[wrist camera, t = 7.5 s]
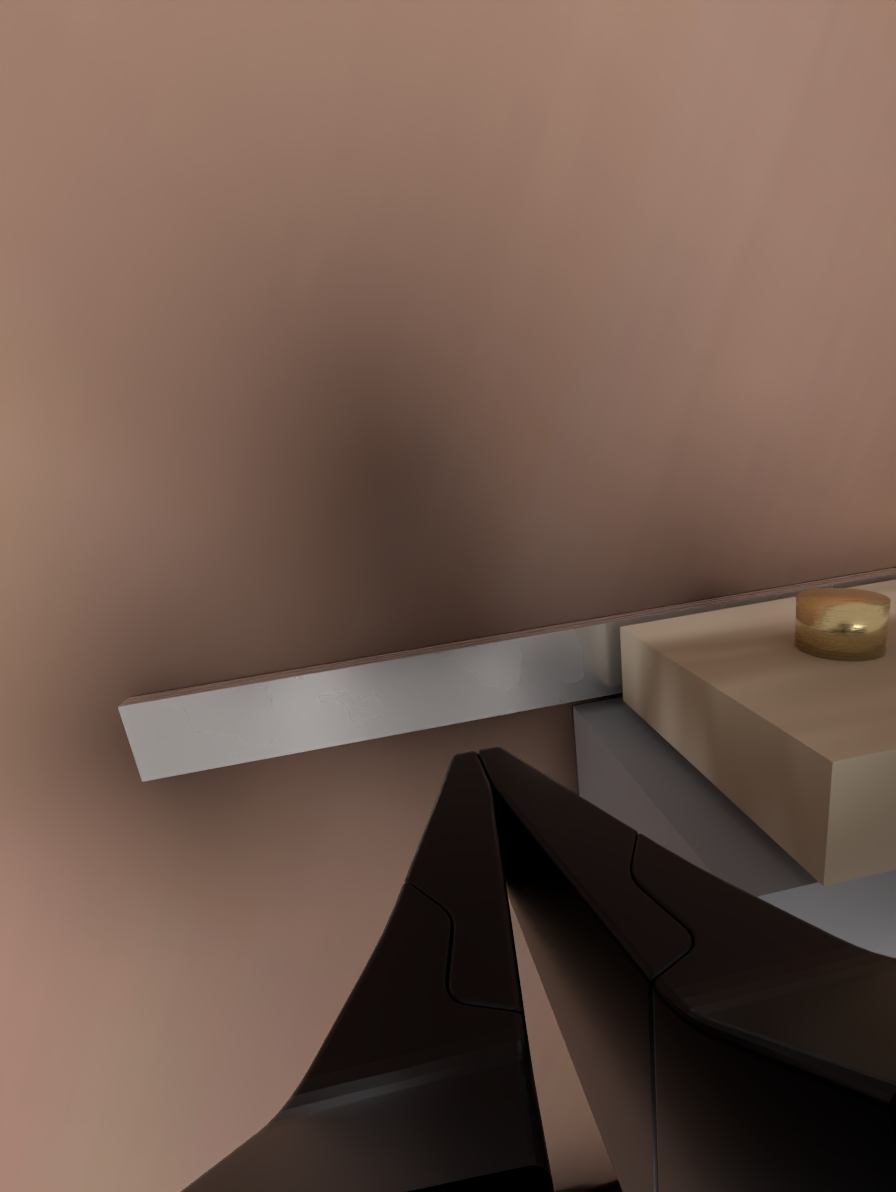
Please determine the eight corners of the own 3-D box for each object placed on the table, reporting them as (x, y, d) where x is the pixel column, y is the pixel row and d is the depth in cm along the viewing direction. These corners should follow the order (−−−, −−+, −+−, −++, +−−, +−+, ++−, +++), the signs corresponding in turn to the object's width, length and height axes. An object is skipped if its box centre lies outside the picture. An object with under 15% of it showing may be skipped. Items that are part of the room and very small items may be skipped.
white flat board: (1218, 573, 16) (1794, 642, 9) (151, 770, 13) (-85, 1075, 6) (1235, 509, 15) (1856, 535, 9) (128, 697, 12) (-154, 947, 6)
